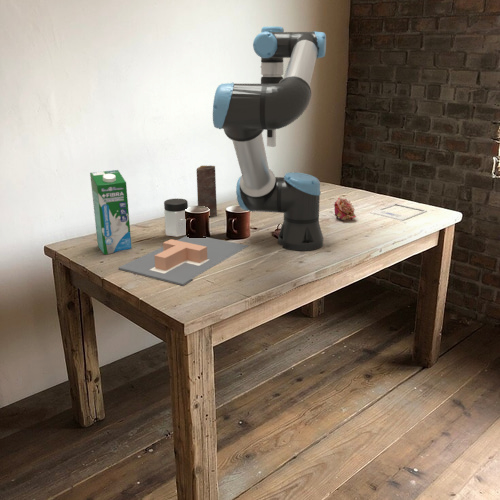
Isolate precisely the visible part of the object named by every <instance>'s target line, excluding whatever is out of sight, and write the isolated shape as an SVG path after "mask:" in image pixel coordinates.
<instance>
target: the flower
mask: <svg viewBox="0 0 500 500" xmlns="http://www.w3.org/2000/svg"><path fill="white" fill-rule="evenodd" d="M333 205H334V207H333V208H334V214H333V215H334V216H335V219H338V218H339V220H341V221H342V222H343V223H344V221H345V220H346V221H347V220H350V221H351V220H353V219H354V218H356V217H357V216H356V214H355V208H354V206H353V203H352V202H351V200H348V199H347V198H341V197H338V198H337V200H336V201H335V202H334V204H333Z"/></svg>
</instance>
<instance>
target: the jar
mask: <svg viewBox="0 0 500 500" xmlns="http://www.w3.org/2000/svg"><path fill="white" fill-rule="evenodd" d="M163 207H164V212H163V213H164V226H165V229H164V230H165V235H166V236H168V237H169V236H171V237H182V236H183V237H184V236H187V235H186V219H185V209H187V208H189V203H188V200H187V199H184V198H169V199H166V200H164V202H163Z"/></svg>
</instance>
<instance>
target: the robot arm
mask: <svg viewBox="0 0 500 500" xmlns="http://www.w3.org/2000/svg"><path fill="white" fill-rule="evenodd" d="M252 47H253V51H254V53H255V54H256V55H257V56H258V57H260V63H261V64H260V74H261V75H262V76H261V78H260V83H234V82H230V83H229V82H227V83H221V84H219V85H218V86H217V88H216V90H215V93H214V97H213V98H214V99H213V103H212V104H213V105H212V123H213V126H214V128H215V129H218V130H223V132H224V134H225V136H226V137H227V138H228V139H229V140H231V141H232V143H233V147H234V151H235V155H236V157H237V161H238V165H239V169H240V173H241V176H240V177H239V178H238V179H237V181H236V186H235V187H236V191H235V193H236V194H235V195H236V201H237V204H238V206H239V208H240V209H242V210H243V211H247V212H248V211H249V212H260V213H262V212H264V213H280V214H283V222H282V224H281V228H280V231H279V233H278V236H277V238H278V239H277V242H278V244H279V245H280V246H281V247H282V248H284V249H285V250H292V251H304V252H305V251H314V250H318V249H320V248H322V247H323V246H324V235H323V231H322V228H321V225H320V221H319V220H320V202H321V201H320V199H321V197H320V196H321V195H322V194H321V182H320V180H319V178H317V177H316V176H313V175H312V174H308V173H305V172H304V173H303V172H297V171H296V172H291V171H290V172H286V173H285V174H284V176H283V177H281V176H280V177H279V176H276V175H275V173H274V171H272V170H271V169H270V168H269V162H268V157H267V153H266V149H265V147H269V148H270V147H271V148H273V147H274V148H275V147H276V146H277V140H276V139H277V131H276V130H279V129H283V128H286V127H287V126H289V125H291V124H292V123H294V122H295V121H296V120H298V119H299V118H300V117H301V116H302V115H303V114H304V113H305V111H306V110H307V108H308V106H309V104H310V102H311V98H312V89H311V82H312V77H313V74H314V69H315V65H316V62H317V59H321V58H325V56H326V51H327V35H326V33H325V32H324V31H323V32H322V31H316V30H315V31H314V30H313V31H285V29H284V27H282V26H277V25H276V26H274V25H273V26H270V25H269V26H263V27H261V32H260V33H258V34H256V36H255V37H254V39H253V43H252ZM287 58H288V59H289V61H288V64H287V66H286V70H285V73H284V59H287ZM282 75H284V76H282ZM265 130H266V146H265V142H264V137H263V132H264V131H265Z"/></svg>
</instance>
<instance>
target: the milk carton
mask: <svg viewBox="0 0 500 500" xmlns="http://www.w3.org/2000/svg"><path fill="white" fill-rule="evenodd" d="M89 174H90V175H89V176H90V183H91V184H90V185H91V195H92V203H93V213H94V221H95V222H94V223H95V224H94V225H95V231H96V232H95V233H96V240H97V241H96V242H97V247H98V248H99V250H100V251H101V252H102V253H103V255H110V254H114V253H115V254H116V253H117V252H121V251H126V250H131V249H132V237H131V226H130V214H129V213H130V212H129V203H128V202H129V199H128V189H127V188H128V187H127V181H126V180H125V178H124V177H123V175H122V174H121V172H120V170H118V169H116V170H114V169H113V170H105V171H94V172H90V173H89Z"/></svg>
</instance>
